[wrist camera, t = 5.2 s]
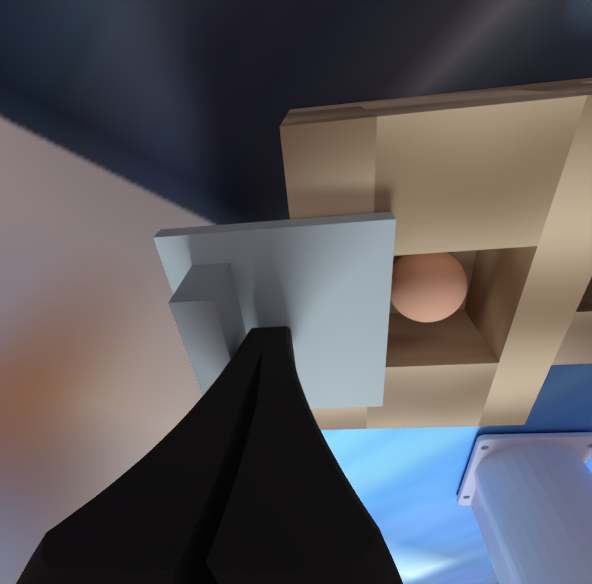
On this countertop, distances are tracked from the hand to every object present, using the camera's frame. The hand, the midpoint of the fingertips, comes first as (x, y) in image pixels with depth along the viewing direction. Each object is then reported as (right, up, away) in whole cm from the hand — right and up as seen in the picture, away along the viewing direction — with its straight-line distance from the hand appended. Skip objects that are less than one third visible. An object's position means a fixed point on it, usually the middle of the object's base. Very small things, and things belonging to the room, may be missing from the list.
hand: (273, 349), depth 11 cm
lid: (0, +1, +1) cm, 1 cm away
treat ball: (+6, +3, +4) cm, 8 cm away
